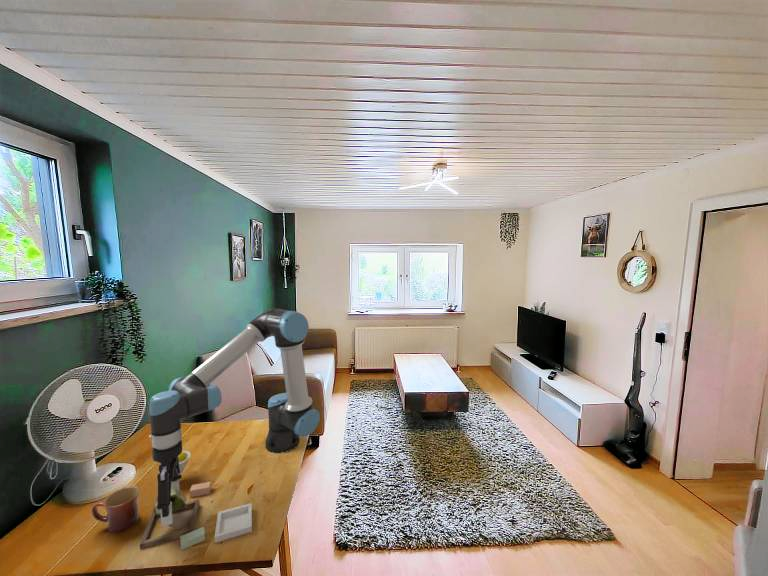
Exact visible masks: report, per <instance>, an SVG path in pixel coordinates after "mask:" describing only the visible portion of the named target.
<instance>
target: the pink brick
mask: <svg viewBox="0 0 768 576" xmlns="http://www.w3.org/2000/svg"><path fill="white" fill-rule="evenodd" d="M211 490H212V482H211V481H208V482H207V481H206V482H201V483H197V484H196V483H195V484H192V485H191V487H190V489H189V498H195V497H201V496H207V495H210V493H211Z"/></svg>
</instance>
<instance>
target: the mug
mask: <svg viewBox="0 0 768 576" xmlns="http://www.w3.org/2000/svg"><path fill="white" fill-rule="evenodd" d="M140 491H141V489H140V488H139V486H126V487H123V488H120V489H117V490H115V491H114V492H112V493H110V494H109V495H107V497H106V498H105V499H104V500H100V501H98V502H96V503H94V505H93V506H92V508H91V513H92V516H93V518H94V519H95V520H96V521H99V522H102V523H107V529H108V531H109V533H112V534H119V533H122V532H125V531H127V530H130V529H132V528H133V527H134V526H135V525H136V524H137V523H138V521H139V515H140V512H139V510H140V509H139V505H138V504H139V503H138V500H139V495H140ZM98 507H103V508H104V509H105V510H106V514H107V515H101V514H100V513H99V511H98Z"/></svg>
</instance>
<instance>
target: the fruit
mask: <svg viewBox="0 0 768 576" xmlns="http://www.w3.org/2000/svg"><path fill="white" fill-rule="evenodd" d="M187 498H188V497H187V496H185V495H184V493H183V490H182V489H181V490H179V491H178V490H177V489H175V488H173V487H171V499H170V501H172V513H174V512H175V511H177V510H178V509H179V508H182V507H185V508H187V507H188V505H186V504H185V503H186V501H187ZM157 505H158V493H157V494H156V501H155V505H154V507H153V508H152V512H154V513H156V514H157V515H158V516H161V513H160V509H159V510H158V509H157V508H156V506H157Z"/></svg>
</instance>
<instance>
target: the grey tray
mask: <svg viewBox="0 0 768 576" xmlns="http://www.w3.org/2000/svg"><path fill="white" fill-rule="evenodd" d="M252 524H253V504H252V502H251V503H247V504H243V505H239V506H235V507H233V508H227V509H225V510H221V511H217V517H216V524H215V531H214V532H215V533H214V543H216V544H217V543H219V542H223V541H226V540H229V539H234V538H239V537H241V536H244V534H245V535H248V534H250V533H249V532H252V531H253V528H252V527H253V525H252ZM247 533H248V534H247ZM252 533H253V532H252Z"/></svg>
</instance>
